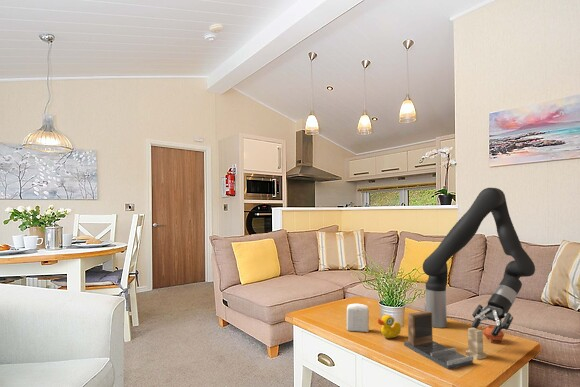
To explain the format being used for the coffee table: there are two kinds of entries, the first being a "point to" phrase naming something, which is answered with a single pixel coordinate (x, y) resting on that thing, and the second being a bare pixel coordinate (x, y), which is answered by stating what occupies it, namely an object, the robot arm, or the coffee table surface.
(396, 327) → the duckling
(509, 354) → the coffee table surface
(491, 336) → the pot
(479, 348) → the beige pedestal column
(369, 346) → the coffee table surface
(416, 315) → the dark brown block
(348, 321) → the photo printer
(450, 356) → the grey stepped base
